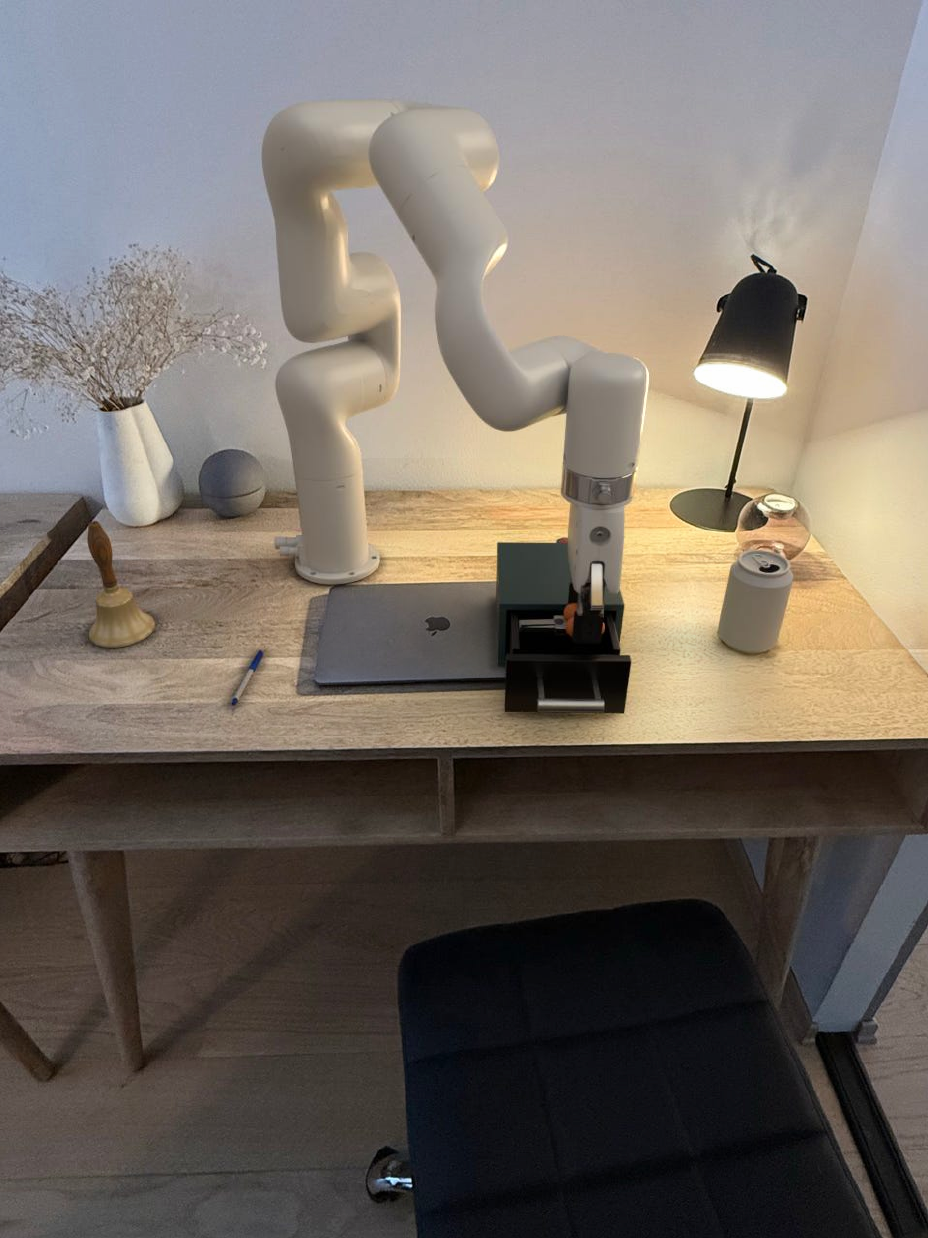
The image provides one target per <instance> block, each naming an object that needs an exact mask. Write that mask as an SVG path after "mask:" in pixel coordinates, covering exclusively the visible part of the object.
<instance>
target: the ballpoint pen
mask: <svg viewBox="0 0 928 1238" xmlns="http://www.w3.org/2000/svg"><path fill="white" fill-rule="evenodd" d="M263 655H264V651H263V650H262V649H259V650H258V651H257V653H256V654H255V656H254V658H253V660H252V661H251V664H250V665H249V667H248V669H247V672H246V674H245V675H244V678H243V679H242V681H241V683H240V685H239V686H238V689H237V691H236V692H235V694H234V696H233V697H232V700H231V706H235V705H236V704H237V703H238V701H240V698H241V696H242V694H243V692H244V690H245V689H246V687H247V684H248V683H249V681H250V680H251V678H252V675H253V674H254V673H255V671H256V669H257V667H258V665H259V663H260V661H261V660H262V658H263Z"/></svg>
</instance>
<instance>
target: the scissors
mask: <svg viewBox="0 0 928 1238" xmlns="http://www.w3.org/2000/svg"><path fill="white" fill-rule="evenodd" d="M577 605H578V603H571V604H569V605H567V606H566V607H565V609H564V612H563V615H564V616H554V619H545V620H519V631H520V632H555V635H567V633H568V635H569V636H571V637H572V631H573V621H574V611H577ZM604 630H605V625H604V623H603V630H602V634H603V632H604Z"/></svg>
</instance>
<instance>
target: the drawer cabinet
mask: <svg viewBox="0 0 928 1238" xmlns="http://www.w3.org/2000/svg"><path fill="white" fill-rule="evenodd" d="M495 576H496V578H495V579H496V581H495V620H496V623H495V624H496V655H497V657H496V658H497V662H496V663H497V667H506V654H509V644H508V632H509V610H564V609H565V607H566V606H567V605H568V595H569V583H573V582H572V581H571V571H570V565H569V559H568V543H556V542H522V541H521V542H517V541H515V542H512V541H511V542H508V541H507V542H506V541H505V542H503V541H501V542H499V541H497V542H496V575H495ZM604 611H611V612H612V616H613V620H614V625H615V629H616V633H617V637H618V641H619V645H620V644H621V635H622V628H623V619H624V615H625V614H624V613H625V600H624V598H623V594H622V590H621V589H620V591H619V592H618V593H617V594H613V593H609V591H608V588H607V585H606V584H605V601H604Z"/></svg>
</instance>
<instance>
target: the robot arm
mask: <svg viewBox="0 0 928 1238" xmlns="http://www.w3.org/2000/svg"><path fill="white" fill-rule="evenodd" d="M499 166H500V151H499V145H498V142H497V138H496V136H495V134H494V131H493V130H492V128H491V126H490V125H489V123H488V122H487V121H486V120H485V119H484V117H482V116H481V115H480V114H478V113H477V112H476V111H474V110H472V109H469V108H466V107H460V106H459V107H458V106H448V105H441V104H433V103H426V102H419V101H413V100H405V99H393V98H390V99H389V98H388V99H387V98H377V99H375V98H374V99H373V98H372V99H371V98H369V99H322V100H320V99H319V100H312V101H305V102H300V103H296V104H291V105H290V106H287V107H285V108H283V109H281V110H280V111H278V112H277V113H276V114H275V115H274V116H273V117H272V118H271V120H270V122H269V123H268V125H267V127H266V129H265V132H264V135H263V138H262V144H261V167H262V168H261V169H262V172H263V173H262V175H263V179H264V184H265V189H266V193H267V196H268V200H269V203H270V207H271V212H272V215H273V220H274V228H275V229H274V230H275V243H276V258H277V268H278V269H277V270H278V283H279V295H280V306H281V312H282V313H281V314H282V318H283V321H284V322H283V323H284V325H285V327H286V330H287V331H288V333H289V334H290V335H291V336H292V337H293V338H294V339H295V340H297V341H299V342H302V343H306V344H318V343H324V342H329V341H334V340H337V339H342V338H345V337H347V340H345V341H342V342H339V343H335V344H328V345H325V346H321V347H317V348H313V349H310V350H307V351H304V352H300V353H298V354H295V355H294V356H292V357H290V358H289V359H287V360H286V361H284V363H283V364H282V365H281V367H279V368H278V370H277V373H276V377H275V381H274V382H275V383H274V385H275V387H274V388H275V394H276V398H277V401H278V405H279V408H280V411H281V414H282V417H283V420H284V424H285V428H286V432H287V435H288V441H289V447H290V454H291V459H292V467H293V469H292V470H293V475H294V483H295V484H294V485H295V491H296V499H297V507H298V515H299V523H300V531H301V534H296V535H295V536H275V537H274V541H273V543H274V544H273V545H274V549H275V550H278V551H279V556H280V557H283V556H284V557H289V556H295V558H294V568H295V570H296V573H297V575H299V577H301V578H303V579H304V580H306V581H309V582H311V583H315V584H319V585H327V586H329V585H332V586H333V585H345V584H351V583H355V582H357V581H361V580H363V579H365V578H367V577H369V576H370V575H372V574H373V573H374V572H375V571H376V570H377V569H378V567H379V565H380V563H381V562H380V559H381V557H380V553H379V550H378V549H377V548H376V547H375V546H374V545H373V544H371V543H369V538H368V536H369V535H368V525H367V524H368V523H367V522H368V521H367V511H366V509H367V508H366V497H365V484H364V472H363V471H364V470H363V459H362V457H363V456H362V451H361V447H360V445H359V443H358V441H357V440H356V438H355V436H354V435H353V434H352V433H351V432H350V430H349V429H348V428H347V425H346V420H348V419H350V418H352V417H354V416H356V415H357V416H358V415H359V414H362V413H365V412H369V411H371V410H373V409H377V408H380V407H381V406H384V405H386V404H388V403H389V402H391V400H393V398H394V397H395V396H396V394H397V393H398V389H399V386H400V380H401V360H402V359H401V358H402V357H401V356H402V355H401V354H402V353H401V352H402V350H401V348H402V302H401V292H400V288H399V284H398V282H397V279H396V277H395V274H394V272H393V270H392V268H391V267H390V266H389V264H388V263H387V262H386V261H385V260H384V259H383V258H382V257H380V256H379V255H377V254H375V253H372V252H365V251H364V252H363V251H359V252H351V253H349V227H348V223H347V219H346V216H345V214H344V211H343V209H342V207H341V205H340V203H339V201H338V200H337V197H336V196H335V195H334V193H333V192H335V191H342V190H352V189H353V190H354V189H367V188H375V187H379V188H380V190H381V191H382V193H383V194H384V195H383V196H384V197H385V198H386V201H388V203H389V205H390V206H391V208H392V210H393V212H394V213H395V215H396V217H397V218H398V220H399V222H400V223H401V225H402V227H403V228H404V230H405V232H406V233H407V234H408V237H409V238H410V240H411V241H412V243H413V245H414V247H415V248H416V250H417V252H419V255H420V256H421V258H422V260H423V262H424V263H425V265H426V266H427V268H428V270H429V271H430V273H431V275H432V276H433V278H434V281H435V285H436V292H435V301H434V321H435V323H434V324H435V331H436V336H437V344H438V349H439V352H440V355H441V357H442V361H443V363H444V365H445V367H446V369H447V371H448V373H449V374H450V376H451V378H452V379H453V381H454V383H455V384H456V386H457V388H458V389H459V391H460V393H461V395H462V397H463V398H464V399H465V401H466V402H467V404H468V405H469V407H470V408H471V409H472V411H473V412H474V414H476V416H477V417H478V418H479V419H480V420H481V421H483V422H484V424H486V425H487V426H488V427H490V428H492V429H494V430H495V431H496V430H497V431H500V432H505V433H507V432H517V431H521V430H524V429H525V428H528V427H531V426H533V425H536V424H537V423H540V422H543V421H545V420H547V419H550V418H552V417H556V416H561V415H565V426H564V427H565V429H564V439H563V440H564V441H563V455H562V456H563V457H562V466H561V469H562V470H561V481H560V496H561V497H562V498H563V499H564V500H565V501H567V502H568V503H569V511H568V512H569V513H568V526H567V537H568V559H569V565H570V571H571V581H572V582H573V583H569V595H568V605H569V604H571V603H578V605H577V611H574V621H573V631H572V642H573V643H575V644H599V643H600V642H601V638H602V630H603V621H604V601H605V584H606V585H607V588H608V591H609V593H613V594H617V593H618V592H619V591H620V590H621V583H622V569H623V558H624V546H625V545H624V544H625V527H626V526H625V525H626V506H627V505H629V504H631V502H632V501H633V500H634V498H635V491H636V484H637V483H636V482H637V474H638V468H639V467H638V466H639V465H638V464H639V458H640V451H641V444H642V437H643V430H644V429H643V428H644V420H645V413H646V405H647V397H648V391H649V379H650V377H649V375H650V374H649V371H648V368H647V366H646V365H645V363H644V362H642V360H640V359H639V358H636V357H634V356H631V355H627V354H624V353H618V352H617V353H615V352H605V351H603V350H601V349H598V348H596V347H594V346H592V345H590V344H588V343H586V342H584V341H582V340H580V339H578V338H576V337H572V336H569V335H553V336H549V337H546V338H543V339H540V340H537V341H532V342H529V343H525V344H523V345H519V346H516V347H513V348H511V349H507V348H506V346H505V344H504V343H503V341H502V339H501V338H500V336H499V334H498V333H497V331H496V329H495V327H494V325H493V324H492V322H491V320H490V317H489V315H488V312H487V309H486V307H485V302H484V290H483V288H484V279H485V277H486V276H487V275H488V274H489V273H490V272H491V271H493V269H494V268H495V267H496V266H497V264H498V263H499V262H500V261H501V260H502V258H503V256H504V254H505V253H506V250H507V248H508V243H509V237H508V236H509V235H508V232H507V230H506V228H505V226H504V225H503V223H502V221H501V219H500V218H499V216H498V215H497V213H496V212H495V210H494V208H493V207H492V205H491V204H490V202H489V200H488V198H487V197H486V195H485V194H484V193H485V192H486V191H487V190H488V189H490V187H491V186H492V184H493V183H494V181H495V180H496V177H497V174H498V171H499Z"/></svg>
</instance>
